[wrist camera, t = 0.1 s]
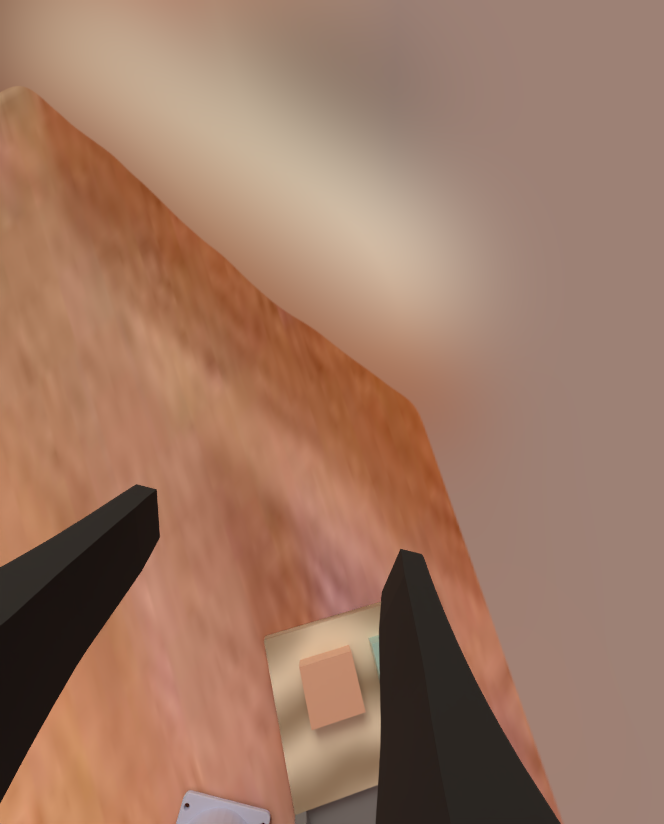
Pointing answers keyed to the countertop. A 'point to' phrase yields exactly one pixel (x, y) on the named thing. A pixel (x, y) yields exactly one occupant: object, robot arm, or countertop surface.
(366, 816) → the tray
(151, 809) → the countertop surface
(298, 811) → the wooden plank
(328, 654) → the terracotta tile
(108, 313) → the countertop surface
